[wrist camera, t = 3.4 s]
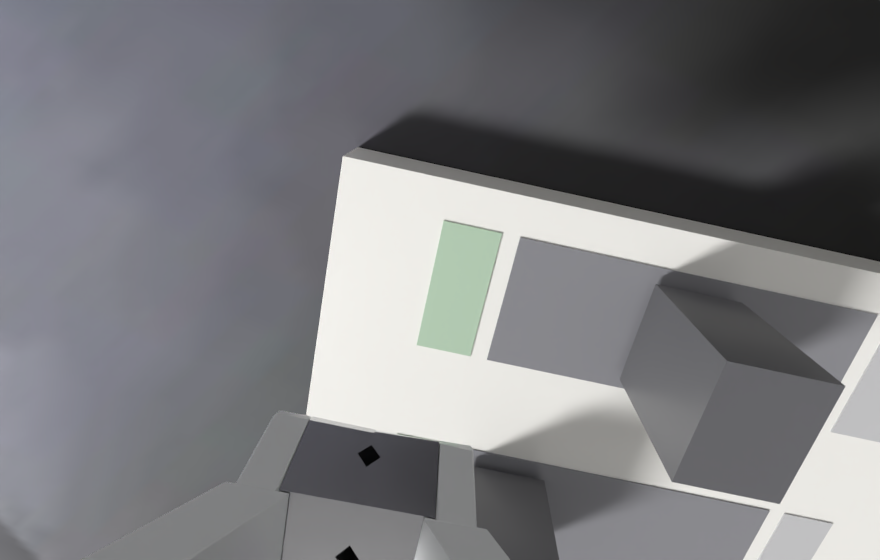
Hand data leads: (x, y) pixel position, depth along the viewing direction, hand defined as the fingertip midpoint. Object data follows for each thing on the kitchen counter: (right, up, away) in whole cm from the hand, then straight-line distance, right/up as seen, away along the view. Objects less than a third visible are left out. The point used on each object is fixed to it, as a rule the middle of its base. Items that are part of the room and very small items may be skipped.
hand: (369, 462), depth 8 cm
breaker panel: (+6, -5, +11) cm, 14 cm away
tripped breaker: (+8, +1, +7) cm, 10 cm away
